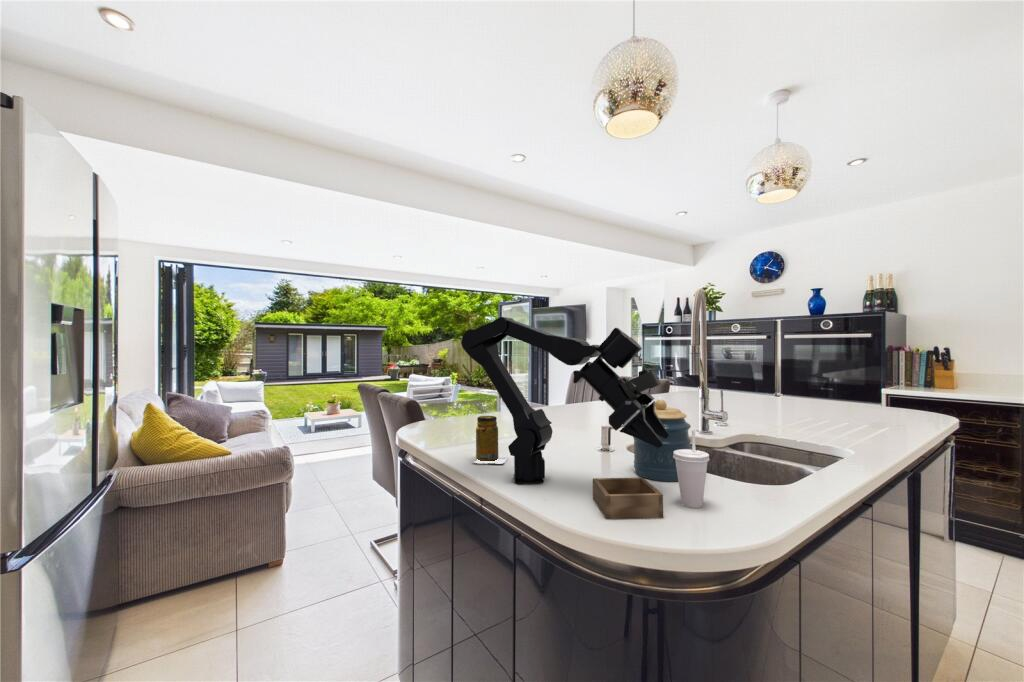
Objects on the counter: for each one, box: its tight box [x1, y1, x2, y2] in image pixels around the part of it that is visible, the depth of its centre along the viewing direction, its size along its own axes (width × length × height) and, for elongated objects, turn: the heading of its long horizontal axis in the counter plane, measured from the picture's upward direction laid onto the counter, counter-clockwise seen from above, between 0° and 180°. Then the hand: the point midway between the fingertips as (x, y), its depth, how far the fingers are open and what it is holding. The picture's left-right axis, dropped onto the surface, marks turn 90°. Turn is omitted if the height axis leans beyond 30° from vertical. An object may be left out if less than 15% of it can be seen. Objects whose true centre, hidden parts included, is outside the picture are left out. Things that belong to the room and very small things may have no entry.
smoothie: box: [673, 429, 710, 509], centre depth 79 cm, size 6×6×14 cm
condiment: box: [475, 415, 499, 461], centre depth 111 cm, size 7×8×12 cm
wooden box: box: [592, 476, 665, 520], centre depth 77 cm, size 10×10×4 cm
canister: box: [632, 399, 692, 482], centre depth 98 cm, size 13×13×18 cm
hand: (664, 441), depth 81 cm, fingers open, 9 cm apart
